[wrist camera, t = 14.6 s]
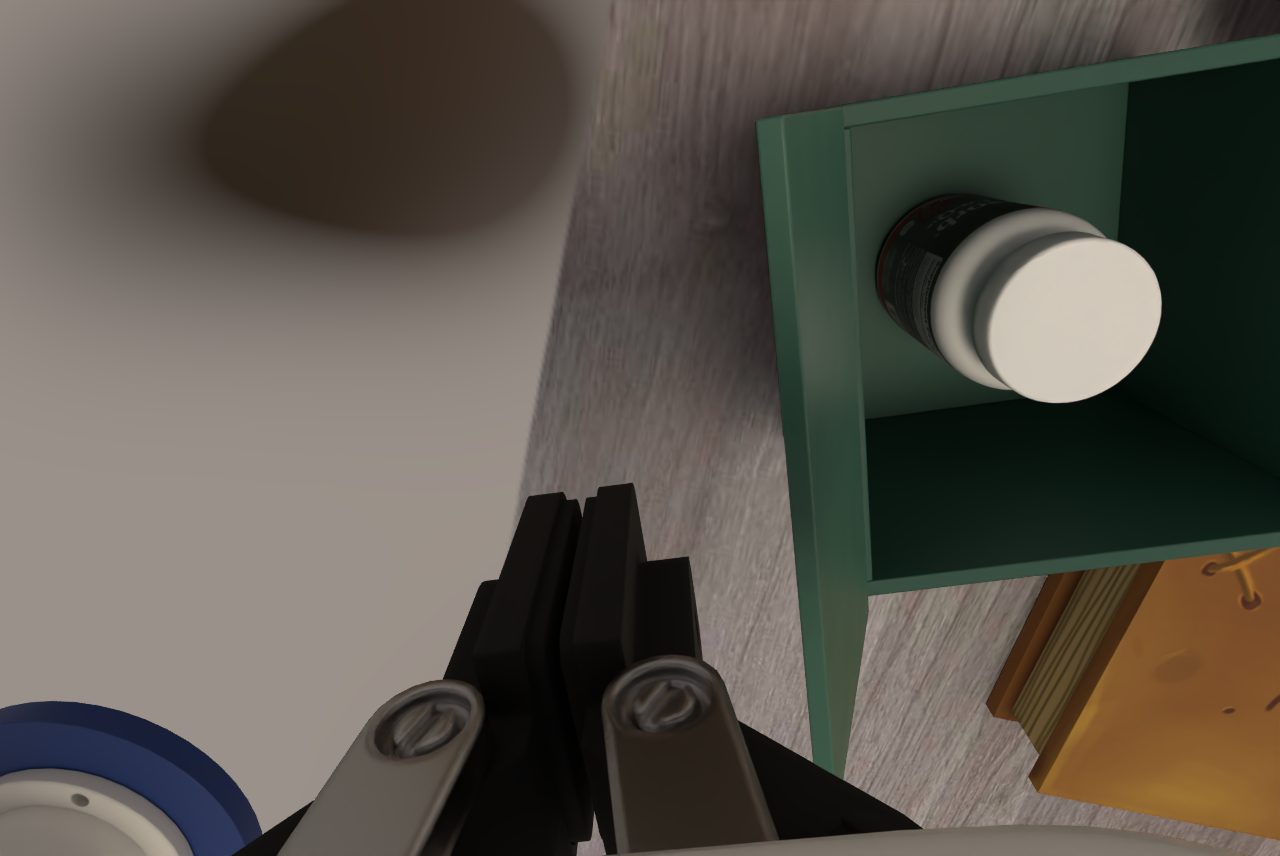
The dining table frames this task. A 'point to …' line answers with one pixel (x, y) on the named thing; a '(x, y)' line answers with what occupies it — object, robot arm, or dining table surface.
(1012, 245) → the pill bottle
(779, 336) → the flap
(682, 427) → the dining table surface
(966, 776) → the dining table surface
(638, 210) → the dining table surface
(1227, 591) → the diary
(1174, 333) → the green square bin
